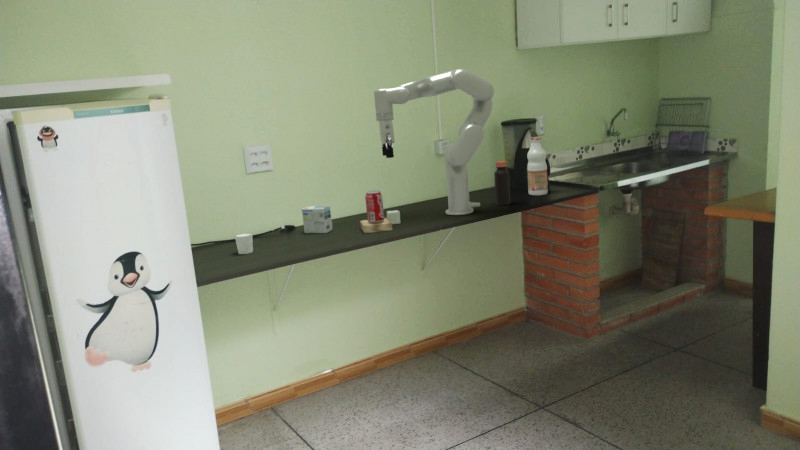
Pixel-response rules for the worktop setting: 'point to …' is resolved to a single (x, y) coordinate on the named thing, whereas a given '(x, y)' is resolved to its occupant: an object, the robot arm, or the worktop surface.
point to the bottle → (502, 184)
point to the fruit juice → (537, 168)
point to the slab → (376, 226)
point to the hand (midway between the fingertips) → (388, 156)
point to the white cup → (244, 243)
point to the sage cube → (394, 216)
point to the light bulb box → (317, 219)
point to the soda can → (374, 207)
